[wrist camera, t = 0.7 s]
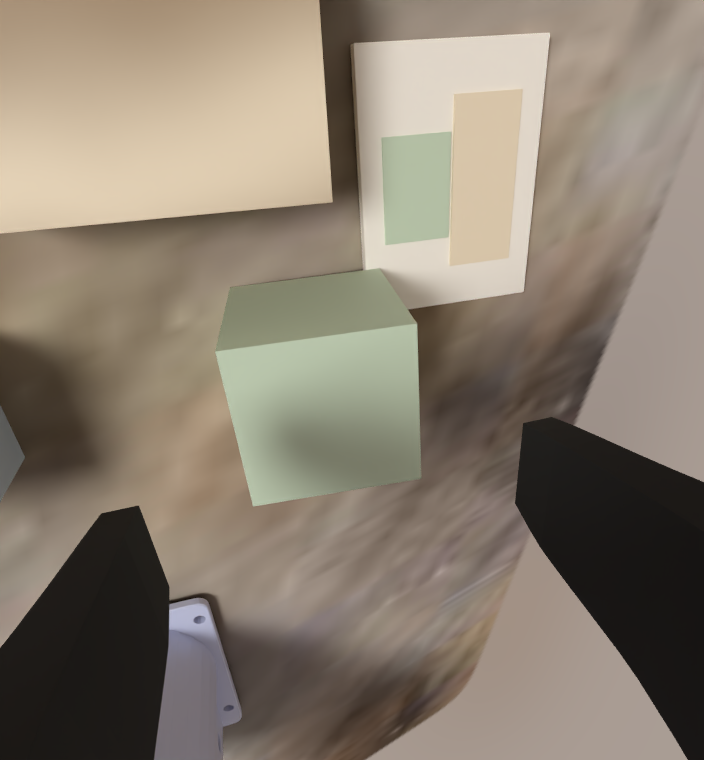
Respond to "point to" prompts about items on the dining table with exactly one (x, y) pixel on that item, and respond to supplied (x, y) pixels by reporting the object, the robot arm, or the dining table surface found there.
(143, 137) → the birch base block
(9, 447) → the dusty blue block
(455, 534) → the dining table surface
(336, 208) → the dining table surface
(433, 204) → the card
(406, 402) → the sage green block
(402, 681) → the dining table surface
